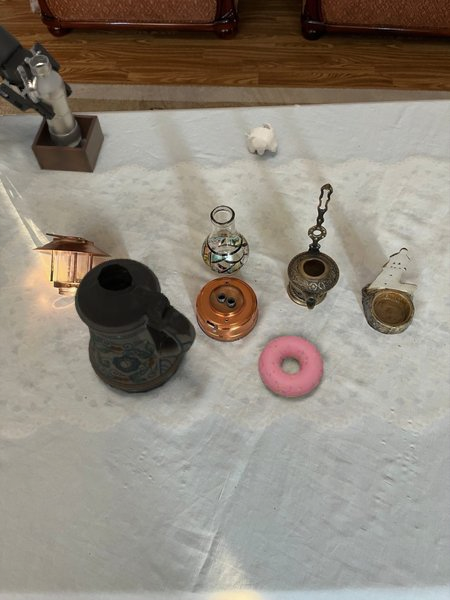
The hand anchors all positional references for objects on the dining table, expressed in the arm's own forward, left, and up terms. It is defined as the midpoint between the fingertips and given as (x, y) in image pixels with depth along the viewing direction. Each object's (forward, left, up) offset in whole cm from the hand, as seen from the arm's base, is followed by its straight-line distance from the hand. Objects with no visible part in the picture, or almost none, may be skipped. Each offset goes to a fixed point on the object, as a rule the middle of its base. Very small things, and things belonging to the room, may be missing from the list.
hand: (61, 105), depth 104 cm
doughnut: (+49, -46, -15) cm, 68 cm away
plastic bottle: (-2, +1, -10) cm, 11 cm away
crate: (-1, 0, -15) cm, 15 cm away
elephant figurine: (+40, +6, -15) cm, 43 cm away
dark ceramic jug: (+24, -45, -15) cm, 53 cm away
